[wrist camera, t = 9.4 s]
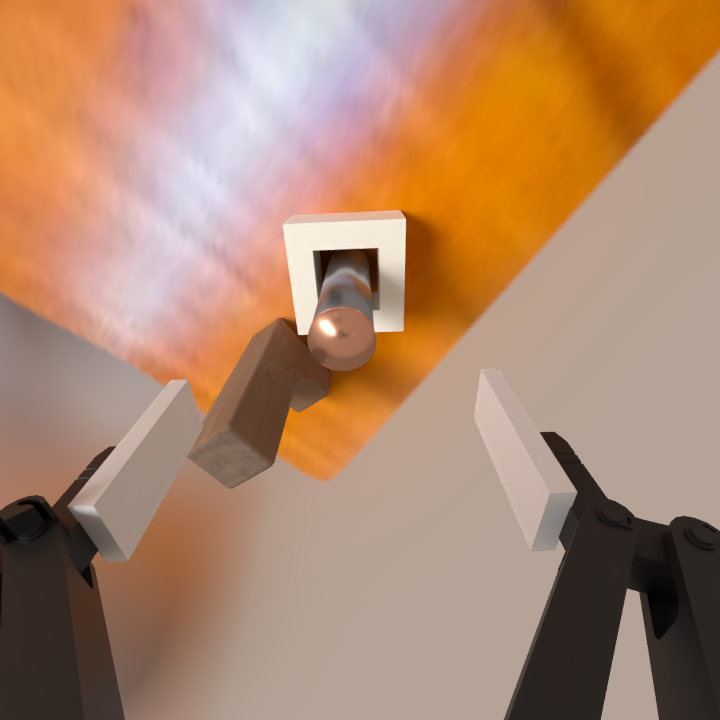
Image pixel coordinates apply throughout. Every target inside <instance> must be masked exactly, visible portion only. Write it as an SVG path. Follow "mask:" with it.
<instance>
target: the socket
mask: <svg viewBox="0 0 720 720" xmlns="http://www.w3.org/2000/svg"><path fill="white" fill-rule="evenodd" d="M283 231H284V238H285V245H286V252H287V259H288V266H289V273H290V280H291V287H292V294H293V301H294V308H295V316H296V323H297V330H298V335H308V332H309V329H310V326H311V323H312V321H313V318H314V314H315V310H316V307H317V303H318V300H319V296H320V293H321V289H322V286H323V280H322V270H321V259H320V250H339V249H363V248H377V281H378V292H371V296H372V308H373V321H374V330H375V332H393V331H404V289H405V244H406V218H405V217H404V215H403V214H402V212H401V211H400V210H391V211H369V212H346V213H323V214H301V215H292V216H291V217H290V218H289V219H288V220H287V221H285V222H284V223H283Z"/></svg>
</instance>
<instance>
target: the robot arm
mask: <svg viewBox="0 0 720 720" xmlns="http://www.w3.org/2000/svg"><path fill="white" fill-rule="evenodd" d="M474 419H475V422H476V424H477V426H478V429H479V431H480V433H481V435H482V438H483V440H484V443H485V445H486V447H487V450H488V452H489V454H490V457H491V459H492V461H493V464H494V466H495V468H496V471H497V473H498V475H499V478H500V480H501V482H502V485H503V487H504V489H505V492H506V494H507V496H508V499H509V501H510V504H511V506H512V508H513V511H514V513H515V515H516V517H517V520H518V522H519V524H520V527H521V529H522V532H523V534H524V536H525V539H526V541H527V543H528V545H529V548H530V550H531V551H545V550H555V548H556V546H557V543H558V541H559V539H560V541H561V543H562V545H563V547H564V549H565V551H566V552H565V554H564V557H563V559H562V561H561V564H560V566H559V568H558V573H557V576H556V578H555V581H554V584H553V587H552V589H551V592H550V595H549V598H548V600H547V603H546V606H545V609H544V611H543V614H542V617H541V619H540V622H539V625H538V628H537V630H536V633H535V636H534V639H533V641H532V644H531V647H530V650H529V653H528V655H527V658H526V660H525V664H524V666H523V669H522V671H521V674H520V677H519V680H518V682H517V685H516V688H515V690H514V693H513V696H512V699H511V701H510V704H509V707H508V710H507V713H506V715H505V718H504V720H601V715H602V710H603V704H604V700H605V695H606V690H607V685H608V680H609V675H610V670H611V665H612V660H613V655H614V650H615V645H616V640H617V635H618V629H619V625H620V620H621V615H622V610H623V605H624V600H625V595H626V590H627V588H628V589H631V590H635V591H638V592H639V593H640V600H641V605H642V613H643V619H644V625H645V631H646V638H647V645H648V651H649V658H650V664H651V670H652V677H653V684H654V690H655V696H656V703H657V709H658V716H659V720H720V531H719V530H718V529H716V528H714V527H713V526H711V525H710V524H708V523H706V522H704V521H701V520H698V519H696V518H692V517H686V516H681V517H676V518H675V519H674V520H672V521H671V523H670V524H669V526H668V525H664V524H659V523H655V522H651V521H647V520H642V519H639V518H636V517H634V515H633V514H632V513H631V512H630V511H629V510H628V509H627V508H626V507H624V506H622V505H621V504H619V503H617V502H616V501H613V500H610V499H607V497H606V496H605V494H604V493H603V492H602V490H601V489H600V487H599V486H598V485H597V483H596V482H595V480H594V479H593V478H592V476H591V475H590V473H589V472H588V471H587V469H586V468H585V466H584V465H583V464H581V461H580V459H579V458H578V456H577V455H575V453H574V451H573V450H572V448H571V447H570V445H569V444H568V442H566V440H564V439H563V438H562V437H560V436H559V435H558V434H556V433H555V432H539V431H538V429H537V428H536V426H535V425H534V423H533V422H532V420H531V419H530V417H529V415H528V414H527V412H526V411H525V409H524V408H523V406H522V404H521V403H520V401H519V400H518V398H517V396H516V395H515V393H514V392H513V390H512V389H511V387H510V385H509V384H508V383H507V381H506V379H505V378H504V376H503V374H502V373H501V371H500V370H499V369H481V375H480V382H479V388H478V395H477V401H476V408H475V415H474ZM203 427H204V426H203V423H202V420H201V417H200V414H199V411H198V408H197V405H196V402H195V399H194V396H193V393H192V390H191V387H190V384H189V381H188V380H171V381H170V382H169V383H168V384H167V386H166V387H165V388H164V389H163V391H162V392H161V393H160V394H159V395H158V397H157V398H156V399H155V400H154V401H153V403H152V404H151V405H150V406H149V408H148V409H147V410H146V411H145V413H144V414H143V415H142V416H141V417H140V419H139V420H138V421H137V422H136V423H135V425H134V426H133V427H132V428H131V430H130V431H129V432H128V433H127V434H126V436H125V437H124V438H123V439H122V441H121V442H120V443H119V444H118V445H117V446H114V447H108V448H107V449H106V450H104V451H103V452H101V453H100V454H99V455H97V456H96V457H95V458H94V459H93V460H92V462H91V463H90V464H89V465H88V466H87V468H86V470H84V471H83V472H82V473H81V474H80V476H79V477H78V480H75V481H74V482H73V484H72V485H71V486H70V487H69V488H68V489H67V491H66V492H65V493H64V494H63V495H62V496H61V498H60V499H59V500H58V501H57V502H56V504H55V505H54V506H53V507H52V508H51V506H50V505H49V504H48V502H47V501H46V500H45V498H44V497H42V496H38V495H35V496H28V497H25V498H22V499H19V500H17V501H15V502H13V503H11V504H9V505H7V506H6V507H4V508H3V509H2V510H1V511H0V720H125V718H124V713H123V708H122V703H121V698H120V693H119V688H118V683H117V678H116V673H115V668H114V663H113V658H112V653H111V648H110V643H109V638H108V633H107V628H106V623H105V618H104V613H103V608H102V603H101V597H100V592H99V588H98V582H97V577H96V572H95V568H94V566H93V564H92V563H91V561H92V559H93V557H94V556H95V554H96V553H97V551H98V552H99V553H100V555H101V556H102V558H103V559H104V560H105V561H128V560H129V558H130V557H131V555H132V553H133V551H134V549H135V548H136V546H137V544H138V543H139V541H140V539H141V537H142V535H143V534H144V532H145V530H146V528H147V527H148V525H149V523H150V521H151V519H152V518H153V516H154V514H155V512H156V510H157V509H158V507H159V505H160V503H161V502H162V500H163V498H164V496H165V495H166V493H167V491H168V489H169V488H170V486H171V484H172V482H173V480H174V479H175V477H176V475H177V473H178V472H179V470H180V468H181V466H182V464H183V463H184V461H185V459H186V457H187V456H188V454H189V452H190V450H191V449H192V447H193V445H194V443H195V441H196V440H197V438H198V436H199V434H200V433H201V431H202V429H203Z"/></svg>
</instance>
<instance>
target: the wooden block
mask: <svg viewBox="0 0 720 720" xmlns="http://www.w3.org/2000/svg"><path fill="white" fill-rule="evenodd" d="M330 379H331V373H330V371H329V370H328V369H327V368H326V367H324V366H322V365H321V364H320V363H318V362H317V361H316V360H315V359H314V357H313V356H312V355H311V353H310V350H309V348H308V347H307V346H306V345H305V344H304V342H303V341H302V340H301V339H300V338H299V337H298V336H297V335H296V333H295V332H294V331H293V330H292V329H291V328H290V327H289V326H288V325H287V323H286V322H285V321H284V320H283V319H282V318H279V319H277V320H275V321H274V322H273V323H271V324H270V325H268V326H267V327H266V328H264V329H263V330H261V331H260V332H259V333H257V334H256V335H255V336H253V337H252V339H251V340H250V342H249V344H248V346H247V347H246V349H245V351H244V353H243V354H242V356H241V358H240V359H239V361H238V363H237V365H236V366H235V368H234V370H233V372H232V373H231V375H230V377H229V378H228V380H227V382H226V383H225V385H224V387H223V389H222V390H221V392H220V394H219V396H218V397H217V399H216V401H215V402H214V404H213V406H212V408H211V409H210V411H209V413H208V414H207V416H206V418H205V420H204V421H203V426H204V427H203V429H202V431H201V433H200V434H199V436H198V438H197V440H196V441H195V443H194V445H193V447H192V449H191V450H190V452H189V454H188V456H187V457H188V458H189V459H190V460H191V461H193V462H194V463H195V464H197V465H198V466H199V467H201V468H202V469H203V470H204V471H206V472H207V473H208V474H210V475H211V476H212V477H214V478H215V479H216V480H218V481H219V482H220V483H222V484H223V485H224V486H226V487H227V488H234V487H236V486H238V485H240V484H241V483H243V482H245V481H246V480H248V479H250V478H252V477H254V476H255V475H257V474H259V473H261V472H262V471H264V470H266V469H268V468H270V467H271V466H272V465H273V463H274V461H275V458H276V454H277V451H278V447H279V443H280V440H281V436H282V433H283V429H284V425H285V422H286V418H287V414H288V411H289V407H291V408H292V409H293V410H295V411H296V412H301V411H302V410H304V409H306V408H307V407H309V406H311V405H312V404H314V403H316V402H317V401H319V400H321V399H322V398H324V397H326V396H327V395H328V393H329V387H330Z"/></svg>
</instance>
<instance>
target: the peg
mask: <svg viewBox="0 0 720 720" xmlns="http://www.w3.org/2000/svg"><path fill="white" fill-rule="evenodd" d="M307 342H308V348H309V350H310V353H311V355H312V356H313V357H314V359H315V360H316V361H317V362H318V363H320V364H321V365H322V366H324V367H326V368H328V369H331V370H335V371H350V370H354V369H357V368H359V367H361V366H362V365H364V364H365V363H366V362H367V361H368V360H369V359H370V358H371V356H372V355H373V353H374V350H375V346H376V336H375V330H374V321H373V308H372V296H371V283H370V270H369V261H368V258H367V256H366V254H365V253H364V252H363V251H362V250H361V249H339V250H336V251H335V252H334V253H333V254H332V256H331V258H330V261H329V264H328V268H327V272H326V275H325V279H324V282H323V286H322V289H321V293H320V296H319V300H318V303H317V307H316V310H315V314H314V318H313V321H312V323H311V326H310V329H309V332H308V338H307Z"/></svg>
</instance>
